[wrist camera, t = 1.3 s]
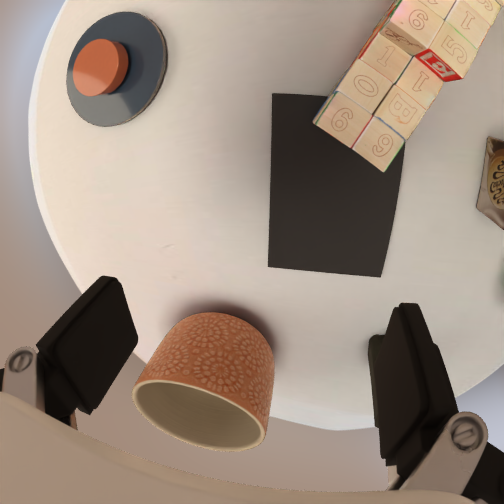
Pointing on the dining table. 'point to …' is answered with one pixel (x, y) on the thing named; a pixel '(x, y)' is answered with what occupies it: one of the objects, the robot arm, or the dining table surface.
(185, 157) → the dining table surface
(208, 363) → the planter
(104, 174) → the dining table surface
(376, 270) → the rubber mat
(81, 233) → the dining table surface
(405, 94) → the stack of blocks
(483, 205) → the coffee box
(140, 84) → the slate plate
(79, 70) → the orange short cylinder
